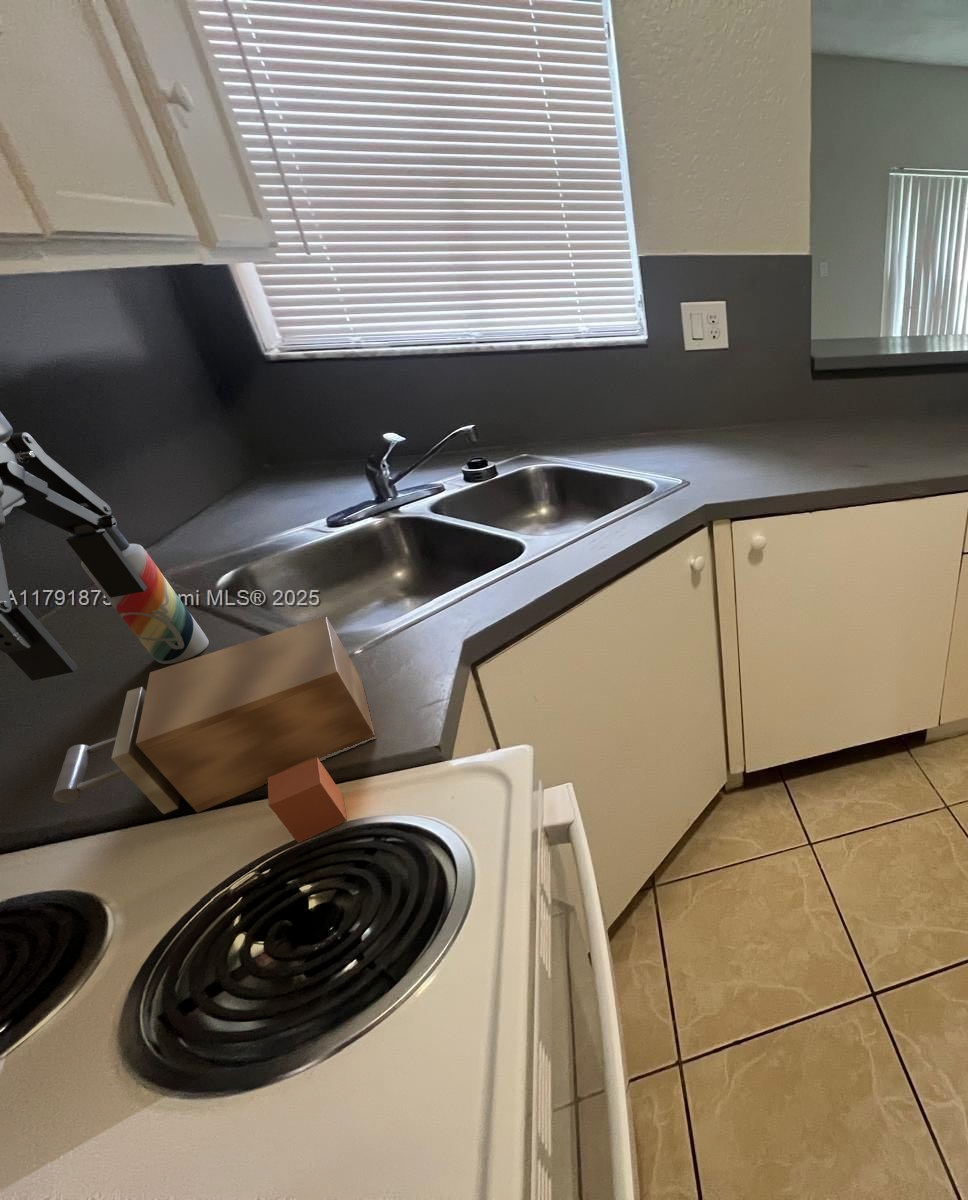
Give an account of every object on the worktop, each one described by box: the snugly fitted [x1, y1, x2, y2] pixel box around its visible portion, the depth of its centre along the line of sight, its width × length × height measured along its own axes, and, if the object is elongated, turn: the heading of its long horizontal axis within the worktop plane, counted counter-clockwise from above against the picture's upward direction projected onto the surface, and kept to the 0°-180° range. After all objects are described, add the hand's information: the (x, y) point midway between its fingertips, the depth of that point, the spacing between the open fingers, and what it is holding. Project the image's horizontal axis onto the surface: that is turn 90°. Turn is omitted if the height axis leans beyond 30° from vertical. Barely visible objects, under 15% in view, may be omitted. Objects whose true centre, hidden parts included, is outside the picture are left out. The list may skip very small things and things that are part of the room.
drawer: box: [52, 686, 181, 815], centre depth 65 cm, size 20×12×8 cm, turn 127°
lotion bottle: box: [67, 515, 210, 665], centre depth 79 cm, size 6×6×20 cm
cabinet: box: [136, 616, 376, 814], centre depth 67 cm, size 16×13×10 cm
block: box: [267, 758, 348, 844], centre depth 59 cm, size 4×4×6 cm
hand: (96, 629), depth 58 cm, fingers open, 13 cm apart
